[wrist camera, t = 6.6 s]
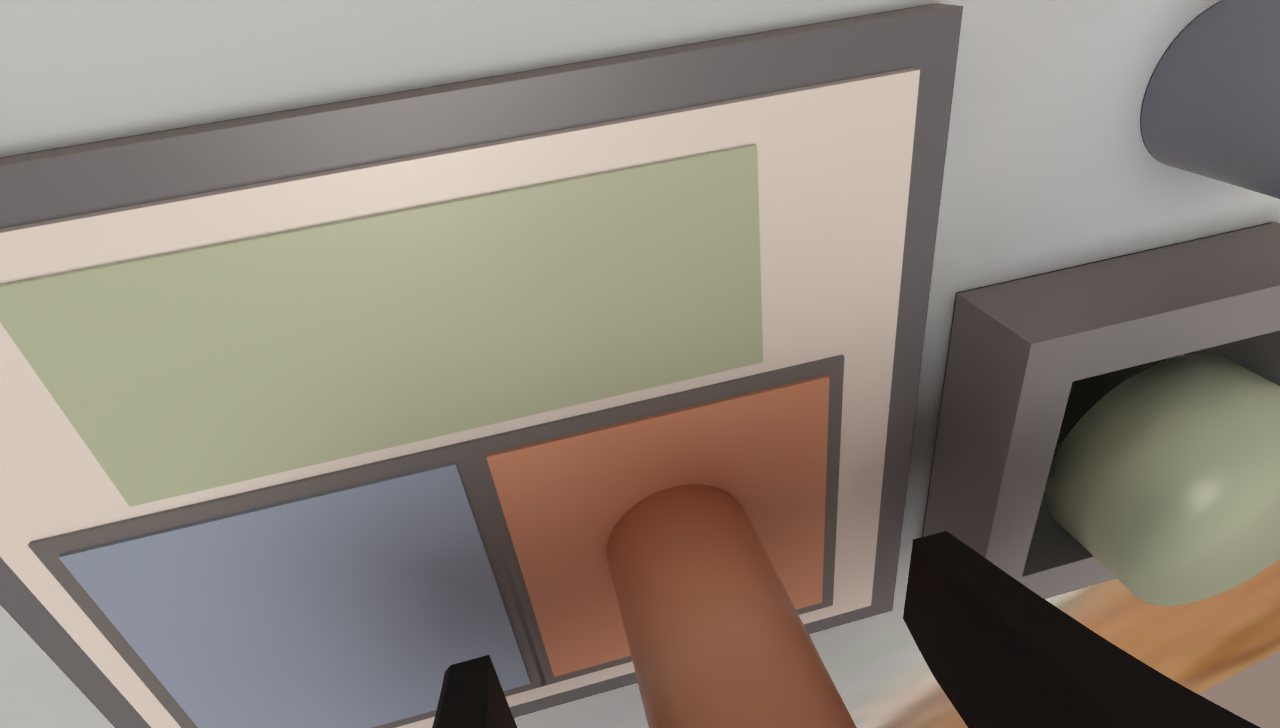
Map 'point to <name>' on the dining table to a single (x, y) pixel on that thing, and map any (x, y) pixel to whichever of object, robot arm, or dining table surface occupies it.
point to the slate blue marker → (1220, 97)
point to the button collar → (1073, 350)
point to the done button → (1175, 479)
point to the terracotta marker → (713, 619)
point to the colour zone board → (462, 369)
